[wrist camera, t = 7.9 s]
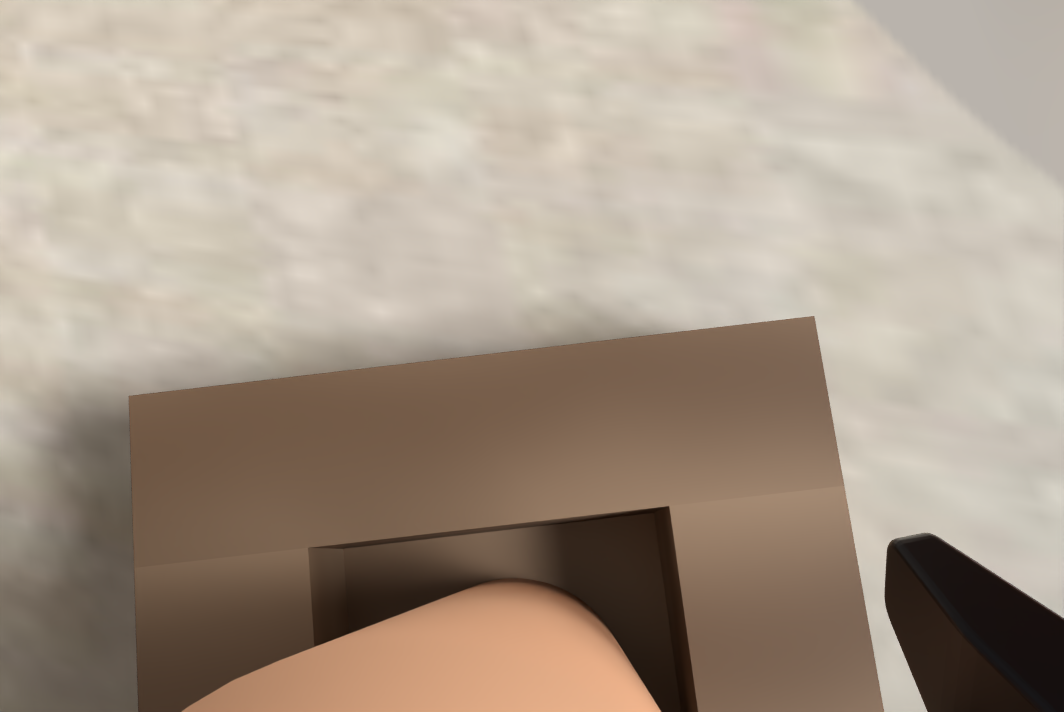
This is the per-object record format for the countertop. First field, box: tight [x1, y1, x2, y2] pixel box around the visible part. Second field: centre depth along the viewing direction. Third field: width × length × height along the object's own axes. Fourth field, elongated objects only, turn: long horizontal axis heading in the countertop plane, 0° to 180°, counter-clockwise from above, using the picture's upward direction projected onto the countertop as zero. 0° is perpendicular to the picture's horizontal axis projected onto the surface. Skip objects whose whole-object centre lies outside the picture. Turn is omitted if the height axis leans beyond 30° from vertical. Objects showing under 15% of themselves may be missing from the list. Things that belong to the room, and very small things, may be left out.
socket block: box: [129, 316, 884, 712], centre depth 16 cm, size 11×11×3 cm
